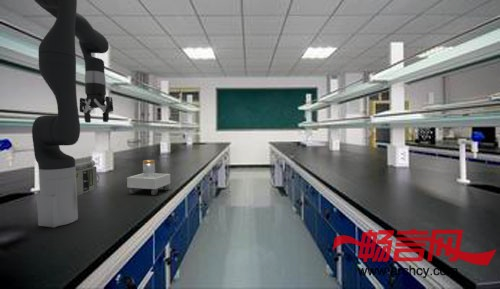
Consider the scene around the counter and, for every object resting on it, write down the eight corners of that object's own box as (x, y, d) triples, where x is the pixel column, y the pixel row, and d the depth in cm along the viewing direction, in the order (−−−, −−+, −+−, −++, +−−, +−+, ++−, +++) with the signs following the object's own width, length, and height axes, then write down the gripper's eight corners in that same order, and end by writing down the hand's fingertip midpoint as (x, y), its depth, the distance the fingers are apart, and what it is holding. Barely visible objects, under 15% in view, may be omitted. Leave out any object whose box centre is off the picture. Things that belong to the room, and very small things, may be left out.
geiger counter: (69, 166, 108) (104, 158, 132) (54, 165, 108) (92, 158, 133) (71, 199, 108) (105, 185, 133) (56, 199, 109) (93, 185, 134)
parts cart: (155, 196, 113) (155, 178, 112) (127, 194, 116) (127, 177, 116) (170, 189, 124) (170, 174, 124) (144, 188, 128) (144, 172, 127)
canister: (150, 183, 117) (150, 161, 116) (141, 183, 118) (140, 160, 118) (157, 181, 122) (156, 159, 121) (148, 180, 123) (147, 159, 123)
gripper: (73, 82, 108) (74, 122, 108) (103, 80, 105) (105, 121, 106) (87, 86, 115) (89, 123, 116) (116, 84, 113) (117, 122, 113)
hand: (96, 122), depth 111 cm, fingers open, 8 cm apart
